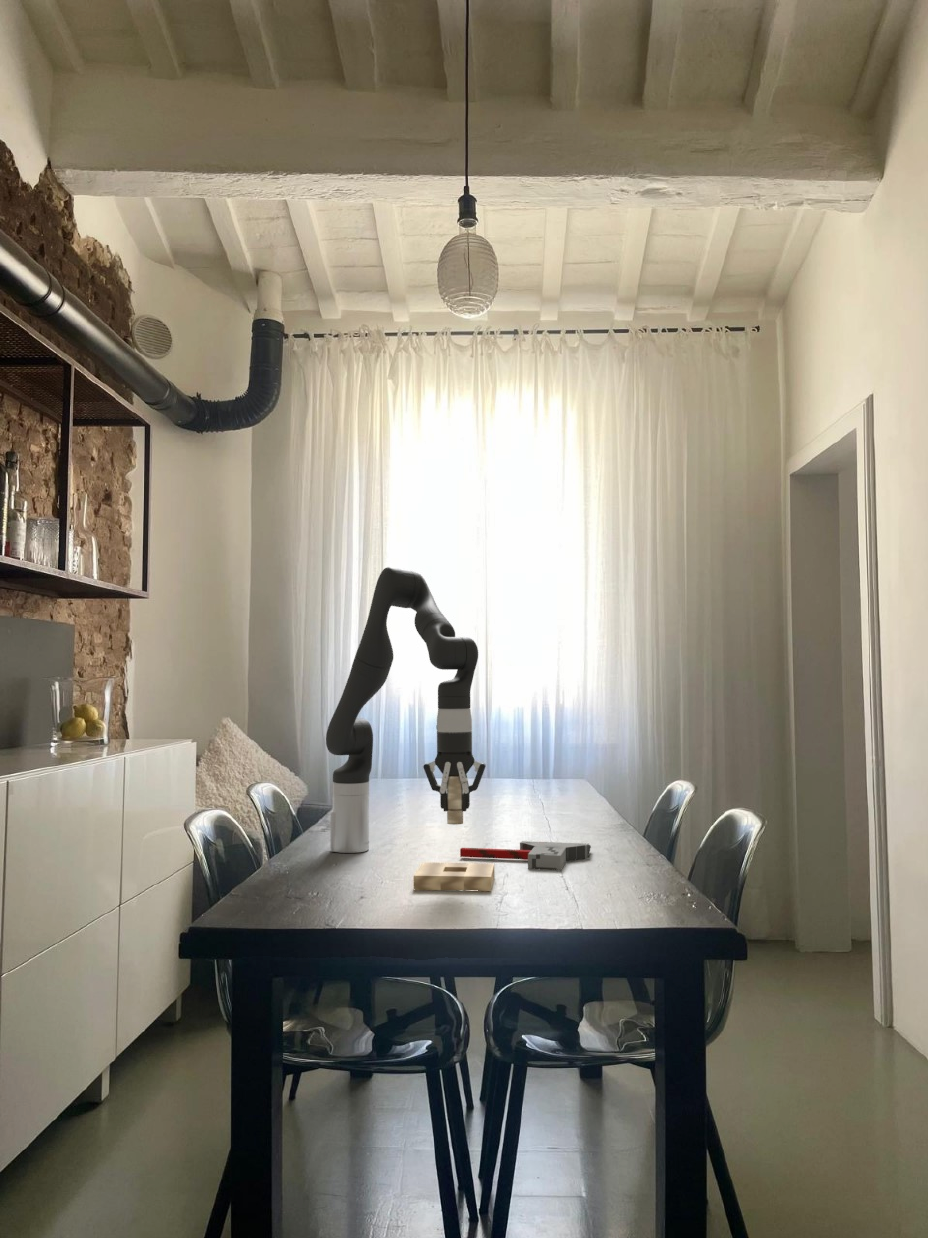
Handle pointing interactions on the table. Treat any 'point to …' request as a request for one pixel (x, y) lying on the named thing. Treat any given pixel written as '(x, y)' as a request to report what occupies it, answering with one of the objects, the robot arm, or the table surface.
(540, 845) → the toy hammer
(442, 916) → the table surface
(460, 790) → the peg
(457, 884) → the board
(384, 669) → the robot arm
